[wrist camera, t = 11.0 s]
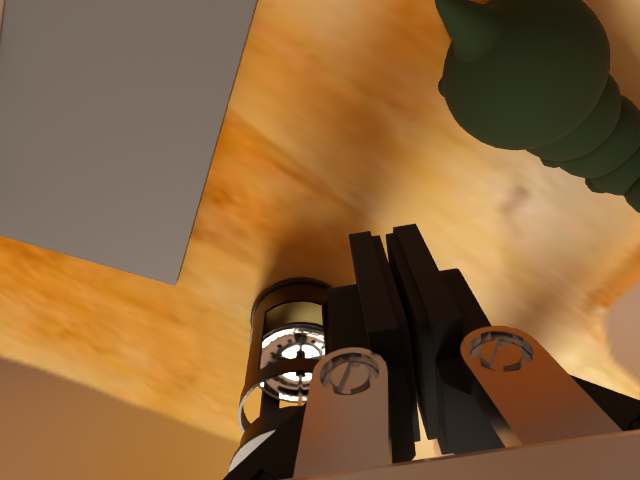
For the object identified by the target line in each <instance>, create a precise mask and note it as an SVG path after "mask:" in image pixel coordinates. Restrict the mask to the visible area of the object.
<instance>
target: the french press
mask: <svg viewBox="0 0 640 480" xmlns="http://www.w3.org/2000/svg"><path fill="white" fill-rule="evenodd" d="M328 288H333V287H332V286H330V285H328V284H326V283H324V282H322V281H319V280H315V279H311V278H291V279H286V280H282V281H280V282H277V283H275V284H273V285H272V286H270V287H269V288H267V289H266V290H265V291H264V292H263V293H262V294H261V295H260V296H259V297H258V299H257V300H256V302H255V303H254V306H253V309H252V312H251V320H250V321H251V334H250V352H249V359H248V365H247V372H246V378H245V385H244V388H243V391H242V393H241V398H240V404H239V412H238V420H239V426H240V428H241V430H242V433H243V436H242V439H241V442H240V447H239V448H238V450H237V451H236V452H235V454H234V456H233V458H232V461H231V463H230V469H229V472H230V471H232V470H233V469H234V468H235V467H236V466H237V465H238V464H239V463H240V462H241V461H243V460H244V459H245V458H246V457H247V456H248V455H249V454H250V453H251V452H252V451H253V450H255V449H256V448H257V447H258V446H259V445H260V444H261V443H262V442H263V441H264V440H265V439H267V438H268V437H269V436H270V435H271V434H272V433H273V432H274V431H275V430H276V429H278V428H279V427H280V426H281V425H282V424H283V423H284V422H285V421H286V420H287V419H288V418H290V417H291V416H292V415H293V414H294V413H295V412H296V411H297V410H298V409H299V408H301V407H302V406H303V403H306V402H307V398H308V393H309V387H310V382H311V376H312V373H313V370H314V368H315V366H316V364H317V363H318V362H319V361H320V360H321V359H322V358H323V357H325V356H326V355H328V354H329V353H331V352H332V351H331V339H330V326H329V314H328V302H327V289H328ZM301 301H303V302H312V303H316V304H319V305H322V319H323V326H322V325H319V324H315V323H309V322H293V323H288V324H284V325H281V326H278V327H275V328H273V329H271V330H270V331H268V332H267V331H266V328H265V321H266V313H267V312H268V311H270V310H271V309H273V308H275V307H277V306H280V305H282V304H286V303H290V302H301ZM257 386H259V387H260V388H261V389H262V398H261V407H260V417H259V418H257V419H256V420H255V421H254V422H253V423H251V424H250V423H249V421H248V420H247V418H246V416H245V413H244V410H243V403H244V401H245V399H246V398H247V396H248V395H249V393H250V392H251V391H252V390H253V389H255V388H256V387H257ZM280 400H282V401H286V402H291V403H298V406H289V407H284V408H279V402H280Z"/></svg>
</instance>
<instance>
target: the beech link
mask: <svg viewBox="0 0 640 480" xmlns="http://www.w3.org/2000/svg"><path fill="white" fill-rule="evenodd" d="M3 5H4V0H0V33H1V23H2V14H3Z"/></svg>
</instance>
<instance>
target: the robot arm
mask: <svg viewBox="0 0 640 480" xmlns="http://www.w3.org/2000/svg"><path fill="white" fill-rule="evenodd" d="M349 240H350V246H351V253H352V259H353V266H354V272H355V279H356V284H354V285H347V286H341V287H335V288H328V289H327V302H328V314H329V326H330V339H331V351H332V352H331V353H329V354H328V355H326V356H325V357H323V358H322V359H321V360H320V361H319V362H318V363H317V364H316V366H315V368H314V370H313V373H312V376H311V382H310V387H309V393H308V398H307V402H306V403H305V404H304V405H303V406H302V407H301V408H299V409H298V410H297V411H296V412H295V413H294V414H293V415H292V416H291V417H290V418H288V419H287V420H286V421H285V422H284V423H283V424H282V425H281V426H280V427H279V428H278V429H276V430H275V431H274V432H273V433H272V434H271V435H270V436H269V437H268V438H267V439H265V440H264V441H263V442H262V443H261V444H260V445H259V446H258V447H257V448H256V449H255V450H253V451H252V452H251V453H250V454H249V455H248V456H247V457H246V458H245V459H244V460H243V461H241V462H240V463H239V464H238V465H237V466H236V467H235V468H234V469H233V470H232V471H230V472H229V473H228V475H227V476H226V477H225V478H224V479H223V480H640V400H637V399H634V398H631V397H629V396H626V395H623V394H620V393H618V392H615V391H612V390H610V389H607V388H604V387H601V386H599V385H596V384H593V383H590V382H588V381H585V380H582V379H580V378H577V377H574V376H571V375H569V374H568V373H567V372H566V371H565V370H564V369H563V368H562V367H561V366H560V365H559V364H558V363H557V362H556V361H555V359H554V358H553V357H552V356H551V355H550V354H549V353H548V352H547V351H546V350H545V349H544V348H543V347H542V346H541V345H540V344H539V343H538V342H537V341H536V340H535V339H534V338H533V337H531V336H530V335H529V334H527V333H525V332H522V331H520V330H518V329H514V328H510V327H506V326H491V324H490V322H489V321H488V319H487V317H486V315H485V314H484V312H483V310H482V309H481V307H480V305H479V303H478V302H477V300H476V298H475V296H474V295H473V293H472V291H471V289H470V288H469V286H468V284H467V282H466V281H465V279H464V277H463V275H462V274H461V272H460V271H459V269H457V268H456V269H449V270H443V271H439V270H438V268H437V266H436V264H435V262H434V260H433V258H432V256H431V254H430V252H429V250H428V248H427V246H426V244H425V242H424V240H423V238H422V235H421V233H420V231H419V229H418V227H417V225H416V224H411V225H405V226H398V227H393V233H391V234H386V243H387V252H388V260H389V263H388V260H387V257H386V254H385V251H384V248H383V244H382V241H381V238H380V235H378V236H371V232H370V231H367V232H361V233H355V234H349ZM417 404H418V407H419V411H420V414H421V418H422V421H423V425H424V428H425V432H426V435H427V438H428V440H431V439H437V441H438V444H439V447H440V451H441V454H442V455H446V454H455V455H448V456H441V457H434V458H427V459H420V460H413V461H411V460H412V459H413V458H414V457H415V455H416V452H415V443H414V442H417V441H420V430H419V420H418V410H417Z"/></svg>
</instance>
